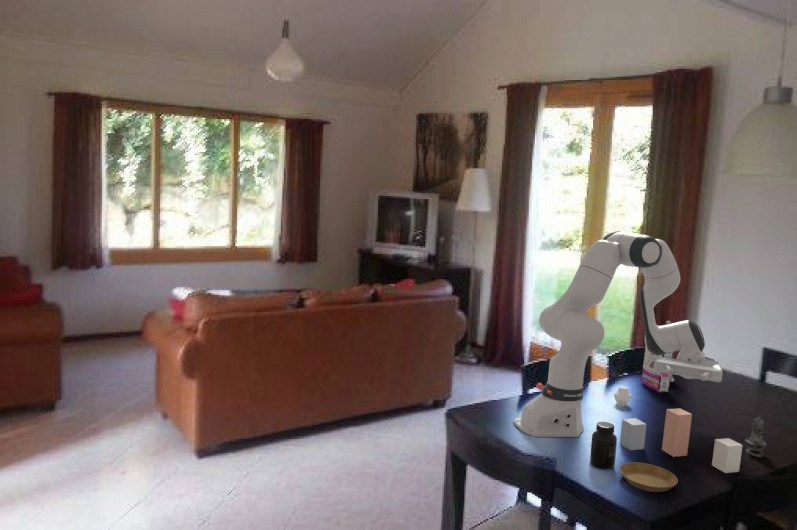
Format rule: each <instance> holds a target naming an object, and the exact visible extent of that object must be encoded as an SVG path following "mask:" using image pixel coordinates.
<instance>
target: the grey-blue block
mask: <svg viewBox="0 0 797 530" xmlns="http://www.w3.org/2000/svg"><path fill="white" fill-rule="evenodd" d="M646 432H647V423H646V422H643V421H642V420H640V419H638V418H637V417H633V418H622V420H621V429H620V436H619V445H621V446H623V447H624V448H626V449H627V450H629V451H635V450H636V451H637V450H638V451H639V450H644V448H645V442H646V441H645V440H646V434H647V433H646Z"/></svg>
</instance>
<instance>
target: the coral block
mask: <svg viewBox="0 0 797 530" xmlns="http://www.w3.org/2000/svg"><path fill="white" fill-rule="evenodd" d="M692 418H693V414H692V413H690V412H689V411H686V410H684V409H683V408H678V407H677V408H667V409H666V412H665V418H664V419H665V420H664V430H663V437H662V443H661V444H662V447H661V450H662V452H665V453H667V454H668V455H670V456H672V457H673V458H674V457H676V456H677V457H685V456H688V450H689V449H688V448H689V442H690V435H691V434H690V433H691V427H692V426H691V425H692Z"/></svg>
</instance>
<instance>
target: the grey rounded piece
mask: <svg viewBox="0 0 797 530" xmlns="http://www.w3.org/2000/svg"><path fill="white" fill-rule="evenodd" d="M613 396H614V400H615V402H616V405H618V406H621V407H626V406H627V405H628V404H629V403H630V401H631V400H632V394H631V393H630V391H629V388H628V387H626V386H619V387H618V389H617V390H616V391H615V392H614V393H613Z"/></svg>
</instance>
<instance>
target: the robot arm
mask: <svg viewBox="0 0 797 530" xmlns="http://www.w3.org/2000/svg"><path fill="white" fill-rule="evenodd" d="M620 265H623V266H626V267H632V268H633V267H634V268H640V269H641V271H642V276H643V277H644V285H643V286H642V288H640V289H639V290H640V291H639V301H640V302H639V303H640V310H641V315H642V322H643V327H644V328H643V329H644V343H645V346H646V347H647V349H648V351H650V352H651V353H653V354H655V355H658V356H659V355H663V354H666V353H669V352H673V353H674V352H678V354H677V357H676V358H673V359H672V358H665V357H660V358H657V359H656V360H655V365H654V370H655V371H658V372H664V373H668V374H669V375H672V376H673V375H675V376H680V377H682V378H684V379H685V380H686V379H687V380H694V379H697V380H698V379H699V381H704V382H705V381H709V382H714V383H721V382H722V380H723V368H722V366H721V365H720V363H719V360H717V359H714V358H711V357H707V356H705V352H704V348H705V346H706V345H705V344H706V342H705V338H704V334H703V332H702V329H701V327H700V326H699V324H697V323H696V322H695V321H693V320H691V319H686V320H681V321H677V322H673V323H672V322H671V324H667V323H666V324H663V325H658V324H657V323H656V318H655V317H656V316H655V315H656V314H655V311H654V308H655V307H656V305H657V304H659V302H661V301H663V300H665V298H668V297H669V296H670V295H672V294H673V293H674V292H675V291H676V290H677V289H678V288H679V285H680V283H681V273H680V270H679V267H678V263H677V261H676V259H675V257H674V254H673V253H672V250H671V248H670V247H669V245H668V244H667V243H666V241H665V240H663V239H660V238H654V237H653V236H650V235H648V234H641V233H636V232H634V231H621V230H620V231H619V230H617V231H611V232H609V233H606V235H604V237H603V238H602V239H598V240H596V241H594V242H593V243H592V244H591V245H590V247H589V248H588V250H587V251H586V253H585V254H584V256H583V258H582V260H581V262H580V264H579V266H578V268H577V270H576V272H575V274H574V276H573V278H572V281H571V282H570V284H569V286H568V287H567V289H566V290H565V292H564V293H563V294H562V295H561V297H559V298H558V299H557V301H555V302H554V303H553V304H551V305H548V306H547V307H546V308H544V309H543V310H542V312H541V313H540V314H539V319H538V320H539V321H538V323H539V327H540V328H541V329H540V330H542V331H543V332H544V333H545V334H546V335H548V336H549V338H553V339H555V340H557V341H559V342H560V348H559V350H558V353H557V354H555V355H553V356H552V357H551V358H550V360H549V366H548V374H547V375H548V377H547V382H546V383H545V385H544V384H542V383H541V382H537V384H536V388H537V390H540V391H541V393H540V394H539V395H538V396H536V397H534V398H533V399H532V400H531V401H529V402H528V403H527V404H525V405H524V407H523V408H522V413H521V417H515V418H514V421H513V423H514V425H515V427H517V428H518V429H519V430H520V431H522V432H524V433H525V434H527V435H529V436H532V437H535V438H579V437H580V434H581V433H582V432H583V431H584V429H585V428H584V424H583V417H582V416H583V415H582V401H583V398H584V377H585V370H586V369H585V368H586V365H587V361H588V360H589V359H588V358H589V356H590V355H591V353H592V352H593V351H594V350H596V349H598V347H600V346H601V345H602V343H603V341H604V338H605V328H604V325H603V324H602V322H600V321H599V320H597V319H596V318H595V317H593V316H592V315H589V314H586V313H587V312H588V311H589V309H591V308H592V307H593V306H595V305H598V304H600V303H601V302H602V301H603V300H604V298H605V296H606V294H607V291H608V290H609V287H610V286H611V285H610V284H611V283H612V281H613V278H614V276H615V274H616V271H617V268H618V267H619V266H620Z"/></svg>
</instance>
